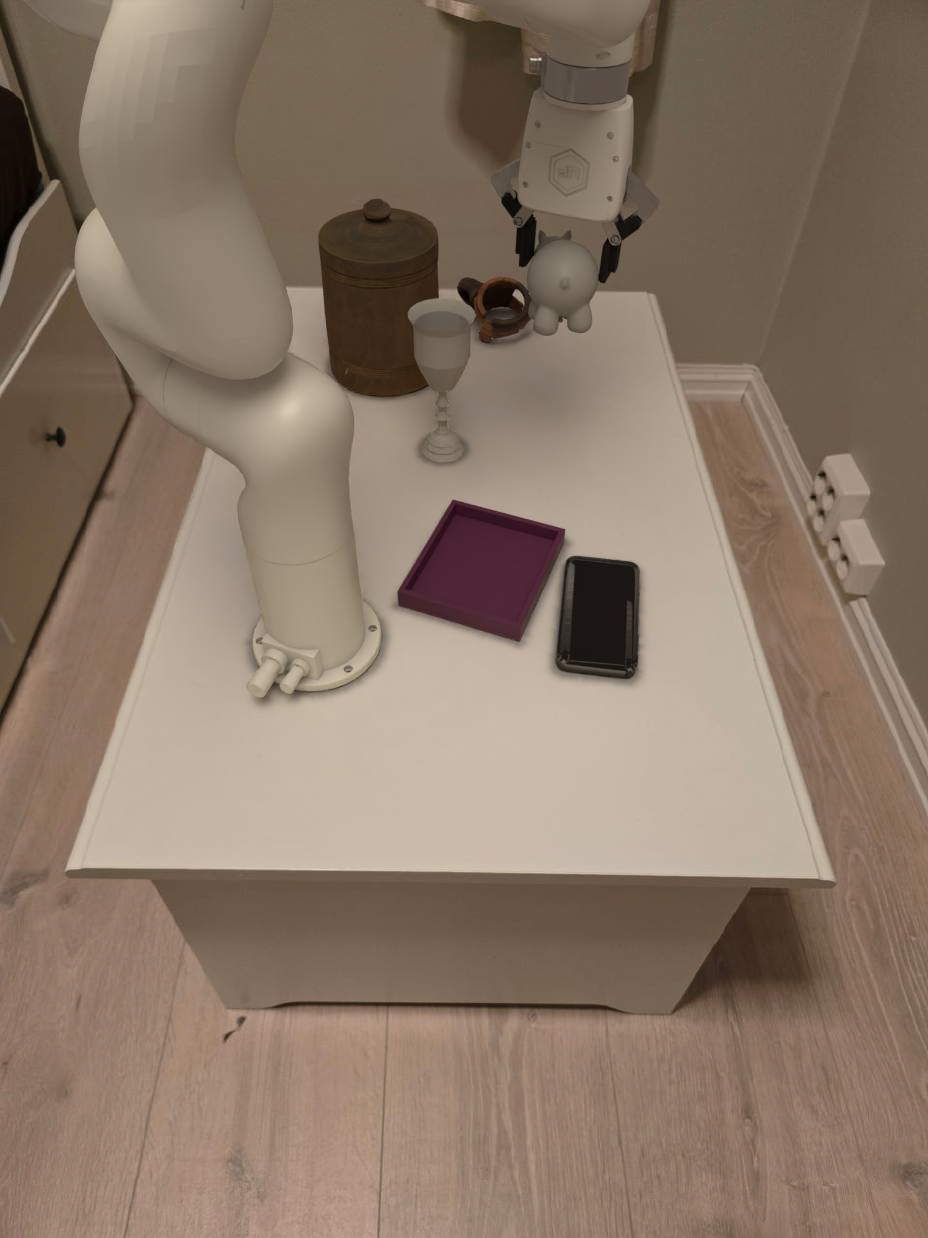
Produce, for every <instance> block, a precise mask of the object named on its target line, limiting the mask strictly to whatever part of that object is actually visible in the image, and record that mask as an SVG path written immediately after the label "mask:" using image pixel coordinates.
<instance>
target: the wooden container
mask: <svg viewBox="0 0 928 1238" xmlns="http://www.w3.org/2000/svg"><path fill="white" fill-rule="evenodd" d="M317 239H318V240H317V242H318V253H319V260H320V272H321V273H320V274H321V285H322V296H323V297H322V298H323V310H324V319H325V320H324V321H325V329H326V330H325V331H326V338H327V344H328V345H327V346H328V353H329V360H330V361H329V362H330V369H331V373H332V375H333V377H334V378H335V380H336V381H337V383H339V384H341V385H342V386H344V387H345V388H347V389H349V390H350V391H353V392H356V393H358V394H359V393H360V394H362V395H370V396H377V397H393V396H400V395H405V394H408V393H412V392H415V391H418V390H420V389H422V388H424V387H426V386H427V385H429V384H428V383H427V381H426V379H425V378H424V376H423V375H422V373H421V371H420V369H419V367H418V364H417V362H416V360H415V357H414V333H413V325H412V323H411V322H410V320H409V319H408V311H409V310H410V308H411V307H412V306H414V305H415V304H417V303H419V302H422V301H425V300H430V299H440V293H439V292H440V290H439V287H440V286H439V264H438V263H439V253H440V252H439V248H440V245H439V233H438V230H437V227H436V226H435V224H434V223H433V222H432V221H431V220H429V219H428V218H427V217H425V216H423V215H420V214H419V213H416V212H414V211H410V210H406V209H400V208H395V207H394V208H393V207H391V205H390V204H389V203H388V202H387V201H385V200H384V199H382V198H378V197H377V198H371V199H369V200H368V201H366V202H365V203H364V204H363V205H362V208H360V209H355V210H351V211H347V212H344V213H341V214H338V215H336V216H334V217H332V218H330V219H328V221H326V222H325V223H323V225H322V226H321V227H320V229H319V231H318V237H317Z"/></svg>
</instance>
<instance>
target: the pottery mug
mask: <svg viewBox="0 0 928 1238" xmlns="http://www.w3.org/2000/svg"><path fill="white" fill-rule="evenodd" d="M456 289H457V293H458V295H459V297H460V298H461V300H462V302H464V303H466V304H467V305H469V306H471V307H472V309H473V310H474V311H475V316H476V319H477V321H478V323H479V324H480V329H479V330H478V332H477V333H478V337H479V338H480V339H481V340H482V341H483V342H486V343H489V342H490V341H491V340H496V339H497V340H498V339H502V338H506V337H510V336H513V335H516V334H518V333H519V332H520V330H523V329H524V328H525V327H526V326H527V325H528V323H529V322H530V321H531V320H532V319H531V318H530V317H529V314H528V311H529V305H530V303H531V300H532V298H531V296H530V294H529V291H528V288H527V287H526V286H525V285H524V284H523V283H522V282H520V281H518V280H517V279H515V278H512V277H507V276H497V277H493V278H491V279H489V280H487V281H485V282H481V281H479V280H477V279H476V278H473V277H469V276H468V277H467V276H466V277H463V278H461V279H460V280H459V282H458V283H457V286H456ZM516 290H518V291H519V292H520V294H521V296H522V297H523V302H522V301H521V300H519V299H518V298H517V297H516V296H514V294H515V291H516ZM500 308H504V309H506V308H507V309H509V310H510V311H511V310H512V311H513V312H515V313H516V314H517V315H515V316H512V317H510V318H497V317H495V316H493V317H492V318H491V320H489V318H487V315H488V312H489V311H491V310H494V309H500Z"/></svg>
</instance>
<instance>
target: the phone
mask: <svg viewBox="0 0 928 1238" xmlns="http://www.w3.org/2000/svg"><path fill="white" fill-rule="evenodd" d="M640 572H641V570H640V567H639V565H638V564H637V563H635V562H634V561H630V560H621V559H614V558H613V559H611V558H605V557H593V556H584V555H572V556H569V557H568V558H567V559H566V561H565V565H564V575H563V576H564V577H563V585H562V586H563V587H562V595H561V606H560V615H559V616H560V617H559V626H558V635H557V645H556V646H557V647H556V656H555V665H556V667H558V668H559V670H561V671H564V672H566V673H576V674H577V673H578V674H584V675H585V674H586V675H593V676H600V677H601V676H603V677H610V678H611V677H612V678H618V679H630V678H632V677H633V676H634V675H635V674H636V671H637V668H638V664H639V663H638V662H639V642H640V634H639V620H640V619H639V618H640V616H639V615H640V577H641V576H640V574H641V573H640Z"/></svg>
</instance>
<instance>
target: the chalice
mask: <svg viewBox="0 0 928 1238" xmlns="http://www.w3.org/2000/svg"><path fill="white" fill-rule="evenodd" d="M475 318H477V316H476V314H475V311H474V310H473V309H472V307H471V306H469V305H467V304H466V303H465V302H464V301H461V300H457V299H453V298H439V299H430V300H425V301H422V302H419V303H417V304H415V305H414V306H412V307H411V308H410V310H409V311H408V319H409V320H410V322H411V323H412V325H413V333H414V357H415V360H416V362H417V364H418V367H419V369H420V371H421V373H422V375H423V376H424V378H425V379H426V381H427V383H428V384H427V385H428V386H429V388H430V390H432V391H434V392H436V393H437V394H438V395H437V399H436V401H435V403H434V404H435V405H436V406H437V410H438V411H437V413H436V414H435V415H434V417H435V420H437V422H438V427H436V428H434V429H432V430H431V432H429V433H428V435H427V437H426V439H425V441H424V444H423V445H422V448H421V452H422V455H424V457H425V458H426V459H428V460H429V461H432V462H434V463H440V464H441V463H451V462H454V461H456V460H458V459H460V458H461V457H462V456H463V454H464V450H465V448H464V446H463V444H462V442H461V440H460V438H459V435H458V434H457V433H456V432H455V430H454V429H452V428H450V427H448V425H447V424H448V421H449V420H450V419H451V414H449V413H448V407H449V405H450V401H449V399H448V396H447V394H448V393H449V392H452V391H453V390H454V389H455V387H456V385H457V384H458V383H459V381H460V379H461V377H462V376H463V374H464V372H465V369H466V368H467V364H468V362H469V360H470V357H471V326H472V325H473V323H474V321H475Z"/></svg>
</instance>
